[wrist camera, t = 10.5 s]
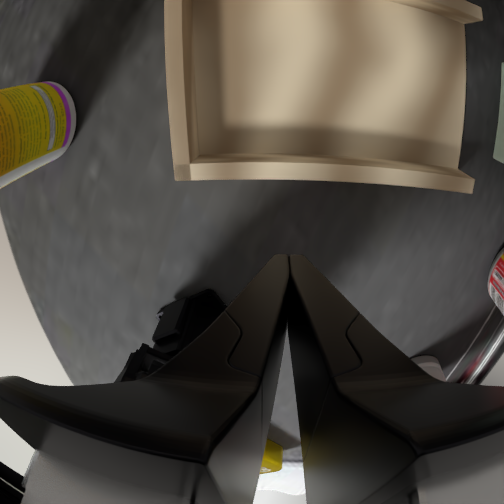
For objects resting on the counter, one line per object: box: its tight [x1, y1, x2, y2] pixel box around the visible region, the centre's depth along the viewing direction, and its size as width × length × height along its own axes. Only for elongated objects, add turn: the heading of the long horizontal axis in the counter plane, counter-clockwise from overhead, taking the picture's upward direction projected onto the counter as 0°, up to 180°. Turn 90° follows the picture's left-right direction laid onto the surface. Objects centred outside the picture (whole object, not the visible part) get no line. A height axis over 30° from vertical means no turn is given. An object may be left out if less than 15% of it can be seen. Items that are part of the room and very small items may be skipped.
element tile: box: [260, 438, 283, 474], centre depth 39 cm, size 15×15×5 cm
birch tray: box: [164, 0, 483, 194], centre depth 15 cm, size 19×13×3 cm
